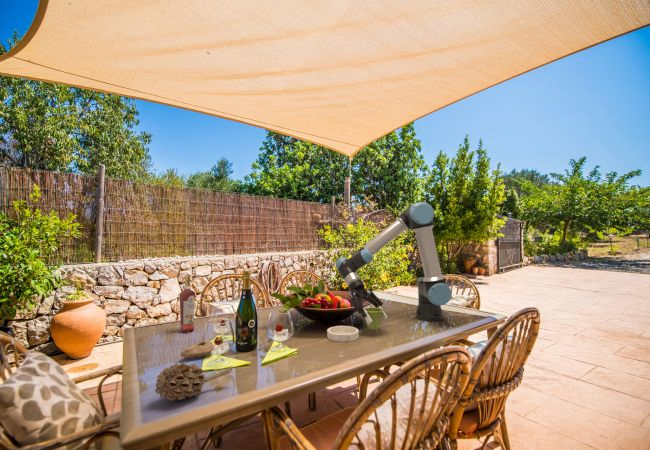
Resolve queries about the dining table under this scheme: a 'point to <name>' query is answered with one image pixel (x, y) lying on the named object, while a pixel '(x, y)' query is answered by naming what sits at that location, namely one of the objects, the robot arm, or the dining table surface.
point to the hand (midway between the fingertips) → (378, 320)
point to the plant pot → (374, 317)
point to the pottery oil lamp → (198, 350)
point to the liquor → (187, 307)
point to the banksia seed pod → (183, 381)
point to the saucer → (342, 333)
